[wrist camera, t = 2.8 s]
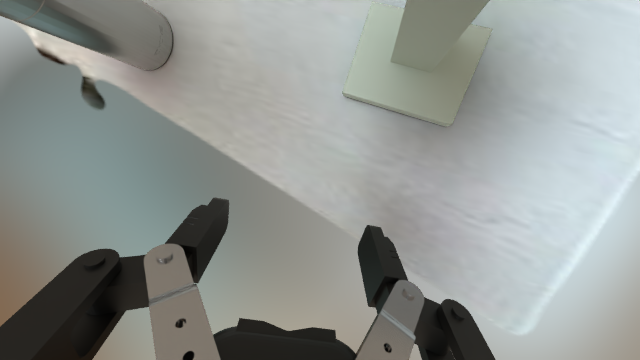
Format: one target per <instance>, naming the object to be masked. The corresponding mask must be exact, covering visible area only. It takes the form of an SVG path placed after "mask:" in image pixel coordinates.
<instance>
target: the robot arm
mask: <svg viewBox="0 0 640 360" xmlns="http://www.w3.org/2000/svg"><path fill="white" fill-rule="evenodd" d="M0 16H3V17H5V18H8V19H10V20H13V21H16V22H19V23H21V24H24V25H27V26H29V27H32V28H35V29H37V30H40V31H42V32H45V33H48V34H50V35H53V36H56V37H58V38H61V39H64V40H66V41H69V42H72V43H74V44H77V45H80V46H82V47H85V48H88V49H90V50H93V51H95V52H98V53H101V54H103V55H106V56H109V57H111V58H114V59H116V60H119V61H122V62H124V63H127V64H130V65H132V66H135V67H138V68H140V69H143V70H155V69H157V68H159V67H160V66H162V65H163V64H164V63H165V61H166V60H167V59H168V57H169V55H170V52H171V49H172V32H171V28H170V26H169V23H168V21H167V20H166V18H165V17H164V16H163V15H162V14H161V13H159V12H158V11H156V10H155V9H154V8H152V7H151V6H149V5H148V4H146V3H145V2H143V1H142V0H0ZM228 214H229V200H226V199H220V198H213V199H212V200H211V202H210V203H209V204H208V206H206V205H201V206H199V207H197V208H195V209H194V210H192V212H191V213H190V214H189V215H188V216H187V218H186V219H185V220H184V221H183V223H182V224H181V225H180V226H179V227H178V229H177V230H176V231H175V232H174V233H173V234H172V236H171V237H170V238H169V239H168V240H167V242H166V243H165V244H163V245H160V246H157V247H155V248H153V249H152V250H150V251H149V252H148V253H147V254H146V255H141V256H132V257H121V258H120V257H119V254H118V252H116V251H115V250H112V249H98V250H94V251H90V252H88V253H86V254H83V255H81V256H79V257H78V258H76V259H75V260H74V261H73V262H72V263H71V264H69V265H68V266H67V267H66V268H65V269H64V270H63V271H62V272H61V273H59V274H58V275H57V276H56V277H55V278H54V279H53V280H52V281H51V282H49V283H48V284H47V285H46V286H45V287H44V288H43V289H42V290H41V291H40V292H38V293H37V294H36V295H35V296H34V297H33V298H32V299H31V300H29V301H28V302H27V303H26V304H25V305H24V306H23V307H22V308H21V309H19V310H18V311H17V312H16V313H15V314H14V315H13V316H12V317H11V318H9V319H8V320H7V321H6V322H5V323H4V324H3V325H2V326H1V327H0V360H92V359H93V358H94V356H95V355H96V353H97V352H98V350H99V349H100V347H101V346H102V345H103V343H104V342H105V340H106V339H107V337H108V336H109V335H110V333H111V332H112V330H113V329H114V327H115V326H116V324H117V323H118V321H119V320H120V319H121V317H122V316H123V314H124V313H125V311H126V310H132V309H138V308H144V307H149V310H150V317H151V324H152V332H153V339H154V346H155V354H156V360H409V357H410V354H411V351H412V348H413V345H414V344H417V345H418V347H419V351H420V354H421V358H422V360H495V358H494V356H493V354H492V352H491V350H490V349H489V347H488V346H487V343H486V341H485V339H484V338H483V336H482V334H481V332H480V330H479V328H478V327H477V325H476V323H475V321H474V319H473V317H472V316H471V314H470V313H469V311H468V310H467V309H466V308H465V307H464V306H462V305H461V304H460V303H458V302H456V301H454V300H451V299H446V300H444V301H443V302H442V303H441V304H438V303H436V302H434V301H432V300H429V299H427V298H425V297H424V296H423V294H422V292H421V291H420V289H419V288H418V287H417V286H416V285H414V284H413V283H411V282H409V281H408V279H407V276H406V274H405V271H404V269H403V266H402V264H401V261H400V259H399V256H398V254H397V253H396V252H397V251H396V249H395V246H394V244H393V243H392V242H391V241H390V239H389V238H388V237H384V235H383V232H382V229H381V228H380V227H376V226H370V225H367V226H366V228H365V230H364V233H363V235H362V238H361V240H360V242H359V245H358V257H359V262H360V267H361V272H362V277H363V282H364V287H365V292H366V297H367V303H368V306H369V307H375V308H376V310H377V316H376V318H375V320H374V322H373V324H372V325H371V327H370V329H369V331H368V333H367V334H366V336H365V338H364V340H363V342H362V344H361V345H360V347H359V349H358V351H357V353H356V354H355V353H354V351H353V350H352V349H350V348H349V347H348V346H347V345H346V344H344V343H343V342H341V341H339V340H337V339H336V334H335V330H329V329H322V328H313V327H312V328H306V329H299V330H293V331H286V330H283V329H281V328H278V327H276V326H274V325H272V324H269V323H267V322H264V321H258V320H250V319H242V318H239V322H238V325H237V326H236V327H231V328H227V329H224V330H222V331H219V332H218V333H216V334H214V335H213V334H212V331H211V328H210V325H209V321H208V318H207V315H206V312H205V309H204V306H203V302H202V299H201V296H200V293H199V290H198V287H197V285H196V284H194V283H198V282H199V280H200V278H201V276H202V275H203V273H204V271H205V269H206V267H207V265H208V264H209V262H210V260H211V258H212V256H213V254H214V252H215V251H216V249H217V247H218V245H219V243H220V241H221V239H222V237H223V235H224V234H225V232H226V229H227V225H228ZM452 353H453V354H452ZM454 358H455V359H454Z"/></svg>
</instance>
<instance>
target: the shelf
mask: <svg viewBox="0 0 640 360" xmlns="http://www.w3.org/2000/svg"><path fill="white" fill-rule="evenodd" d="M489 1H490V0H407V1H406V5H405V9H404V8H399V7H395V6H391V5H386V4H382V3H378V2H374V1H372V3H371V6H370V9H369V13H368V16H367V19H366V22H365V25H364V28H363V31H362V34H361V37H360V40H359V43H358V46H357V49H356V52H355V55H354V58H353V61H352V64H351V67H350V70H349V73H348V76H347V79H346V82H345V85H344V88H343V91H342V93H343V96H346V97H349V98H352V99H356V100H359V101H362V102H365V103H369V104H372V105H375V106H379V107H382V108H385V109H389V110H392V111H395V112H399V113H402V114H405V115H408V116H412V117H415V118H418V119H422V120H425V121H428V122H432V123H435V124H438V125H442V126H445V127H447V126H450V125H452V123H453V121H454V119H455V116H456V114H457V112H458V109H459V107H460V105H461V102H462V100H463V97H464V95H465V93H466V90H467V88H468V86H469V83H470V81H471V79H472V76H473V74H474V72H475V69H476V67H477V65H478V62H479V60H480V58H481V55H482V53H483V51H484V48H485V46H486V43H487V41H488V39H489V36H490V34H491V32H492V29H490V28H485V27H481V26H477V25H473V24H471V23H472V22H473V20H474V19H475V18H476V17H477V15H478V14H479V13H480V12H481V10H482V9H483V8H484V7H485V6H486V4H487V3H488V2H489Z"/></svg>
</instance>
